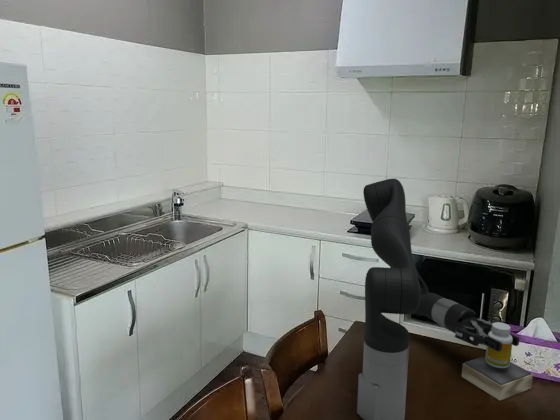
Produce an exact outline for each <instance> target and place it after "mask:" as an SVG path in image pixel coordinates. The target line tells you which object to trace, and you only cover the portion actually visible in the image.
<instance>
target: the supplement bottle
mask: <svg viewBox="0 0 560 420" xmlns="http://www.w3.org/2000/svg"><path fill="white" fill-rule="evenodd" d="M500 322H501V321H500ZM500 322H495V323H493V324H492V329H491V330H490V332H489V333H488V336H490V337H492V338H494V339H495V340H497V341H499V342H501V343H502V350H501V351H499V352H498V351H496V350H494V349H492V348H490V347H488V346H486V349H485V350H486V351H485V356H486V358H485V360H486V362H487V363H488V364H489V365H491V366H493V367H496V368H507V367H509V365H510V362H511V359H512V358H511V357H512V350H513V348H512V347H513V345H512V341H513V338H512V336H511V335H510V333H511V329H512V328H511V326H510V325H509V324H507V323H504V322H502V323H500Z"/></svg>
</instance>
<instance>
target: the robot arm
mask: <svg viewBox="0 0 560 420" xmlns="http://www.w3.org/2000/svg"><path fill="white" fill-rule="evenodd" d="M362 191H363V199H364V203H365V206H366V207H365V208H366V210H367V212H368V214H369V217H370V219H371V221H372V223H371V228H370V244H371V247H372V249H373V251H374V253H375V254H376V255H377V256H378V258H380V260H381V261H383V262H384V263H385V264H387V266H389V267H384V266H383V267H380V266H379V267H377V266H376V267H375V266H373V267H369V269H368V270H367V272H366V275H365V278H364V280H365V281H364V307H365V308H364V311H365V312H364V313H365V314H364V316H365V318H364V319H365V320H364V333H363V334H364V336H363V355H362V358H363V359H362V360H363V361H362V372H361V373H359V374H358V381H357V383H358V385H357V386H358V387H357V404H356V405H357V406H356V407H357V408H356V413H357V414H358V415H359V417H360V418H361V419H363V420H405V416H406V415H405V414H406V401H407V399H406V398H407V397H406V396H407V383H408V382H407V381H408V371H409V370H408V367H409V366H408V365H409V356H410V355H409V353H410V338H411V336H410V332H409V330H408V329H407V328H406V326H404V325H402V324H400V323H399V322H396V321H394V320H392V319H390V318H388V317H387V316H385V315H383V314H390V315H391V314H392V315H419V316H424V317H426V318H427V319H430V320H431V321H433V322H435V323H436V324H438V325H439V326H440V327H442V328H445V329H447V330H448V331H450V332H452V333H453V334H454V338H455V339H459V340H460V341H463V342H466V343H467V344H469V345H472V346H474V347H478V346H479V345H481V346H485V347H487V346H488V347H490V348H492V349H494V350H496V351H498V352H499V351H501V350H502V343H501V342H499V341H497V340H495V339H494V338H492V337H490V336H488V333H489V332H490V331H491V330H492V324H493V323H495V322H500V323H503V322H502V321H500V320H498V319H496V318H494V317H491V318H490V320H488V321H487V320H486V319H482V318H479V317H478V315H477V313H476V312H475V311H474V310H473V309H471V308H470V307H467V306H465V305H463V304H460V303H458V302H456V301H454V300H452V299H447V298H445V297H444V296H441V295H439V294H437V293H434V292H429V288H428V286H427V284H426V282H425V281H424V279H423V278H422V276H421V275H420V273H419V271H418V270H417V267H416V264H415V261H414V257H413V252H412V251H413V250H412V242H411V234H410V232H411V231H410V228H409V224H408V218H407V214H406V213H407V212H406V209H407V208H406V194H405V189H404V187H403V184H402V182H401V181H400V180H398V179H397V178H387V179H383V180H380V181H377V182H372V183H369V184H366V185H365V186H364V187H363V190H362ZM510 335H511V336H512V338H513V341H512V346H515V347H517V346H519V345H520V338H519V336H517V335H515V334H512V333H511V332H510Z"/></svg>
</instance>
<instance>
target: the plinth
mask: <svg viewBox="0 0 560 420" xmlns="http://www.w3.org/2000/svg"><path fill="white" fill-rule="evenodd" d="M485 358H486V355H483V356H480V357H476V358H475V359H470V360H468V361H465V362H462V367H461V378H463V379H465V380H466V381H468V382H469V383H471V384H472V385H474V386H475V387H477V388H479V389H480V390H483V392H486V393H487V394H488V395H489V396H492V397H493V398H495V399H497V400H498V401H499V402H500V401H503V400H505V399H507V398H509V397H510V398H511V397H513V396H516V395H518V394H520V393H524V392H525V391H529V390H531V389H532V386H533V379H534V378H533V377H534V374H533V373H532V372H530V371H528V370H527V369H525V368H523V367H521V366H519V365H517V364H515V363H514V362H512V361H510V365H509V367H507V368H496V367H493V366H491V365H489V364H488V363H487V362H486V360H485ZM528 389H529V390H528Z"/></svg>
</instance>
